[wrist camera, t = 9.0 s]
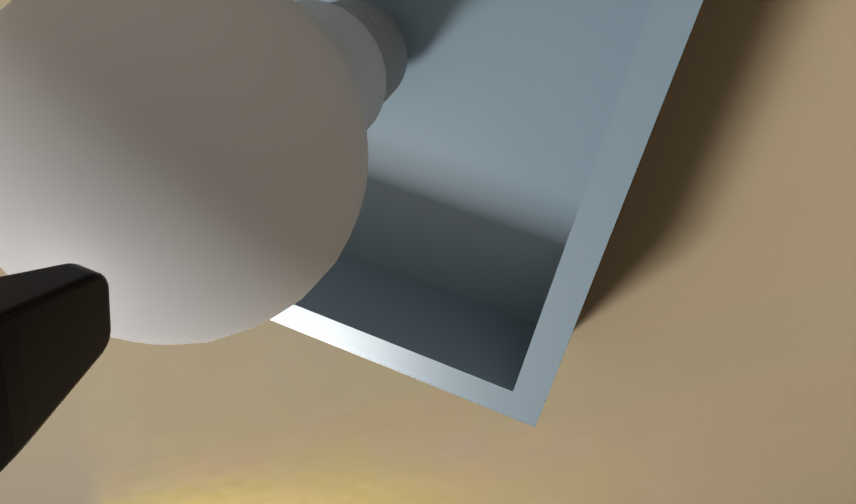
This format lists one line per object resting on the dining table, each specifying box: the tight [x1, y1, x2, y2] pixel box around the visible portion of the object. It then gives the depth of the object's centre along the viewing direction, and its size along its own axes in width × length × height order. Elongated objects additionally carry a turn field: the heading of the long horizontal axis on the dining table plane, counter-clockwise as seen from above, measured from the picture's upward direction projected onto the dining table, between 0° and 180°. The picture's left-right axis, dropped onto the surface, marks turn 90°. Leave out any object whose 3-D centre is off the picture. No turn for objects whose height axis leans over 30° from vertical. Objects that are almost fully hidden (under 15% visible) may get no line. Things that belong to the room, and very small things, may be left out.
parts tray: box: [269, 0, 703, 427], centre depth 18 cm, size 14×14×4 cm
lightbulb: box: [0, 0, 407, 345], centre depth 14 cm, size 6×6×11 cm
